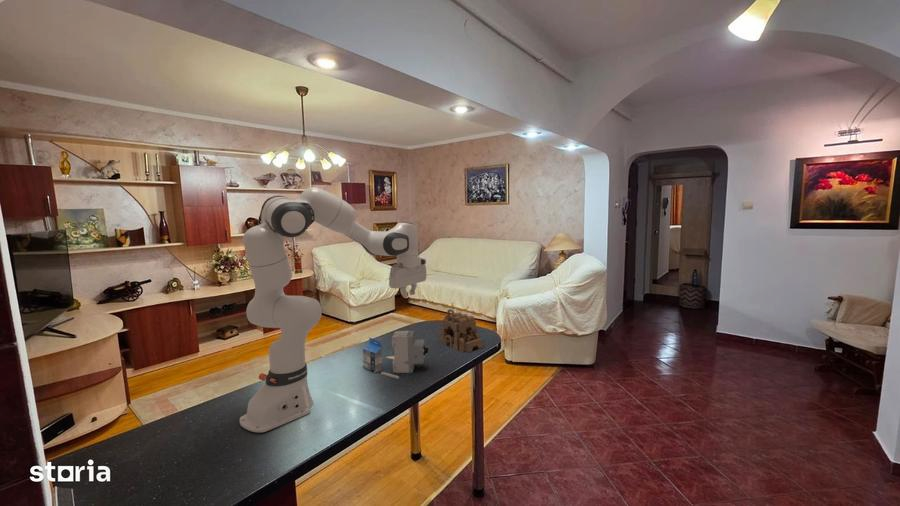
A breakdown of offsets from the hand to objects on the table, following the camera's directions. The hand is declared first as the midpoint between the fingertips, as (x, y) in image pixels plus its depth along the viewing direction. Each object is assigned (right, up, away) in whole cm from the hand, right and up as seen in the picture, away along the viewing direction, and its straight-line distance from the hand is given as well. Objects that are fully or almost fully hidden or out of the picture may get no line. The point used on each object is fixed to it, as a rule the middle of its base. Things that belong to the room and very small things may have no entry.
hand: (409, 295), depth 146 cm
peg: (-7, -32, -4) cm, 33 cm away
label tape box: (-16, -32, +4) cm, 35 cm away
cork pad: (-7, -30, +16) cm, 35 cm away
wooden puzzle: (+22, -28, +31) cm, 47 cm away
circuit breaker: (+1, -31, +3) cm, 31 cm away
